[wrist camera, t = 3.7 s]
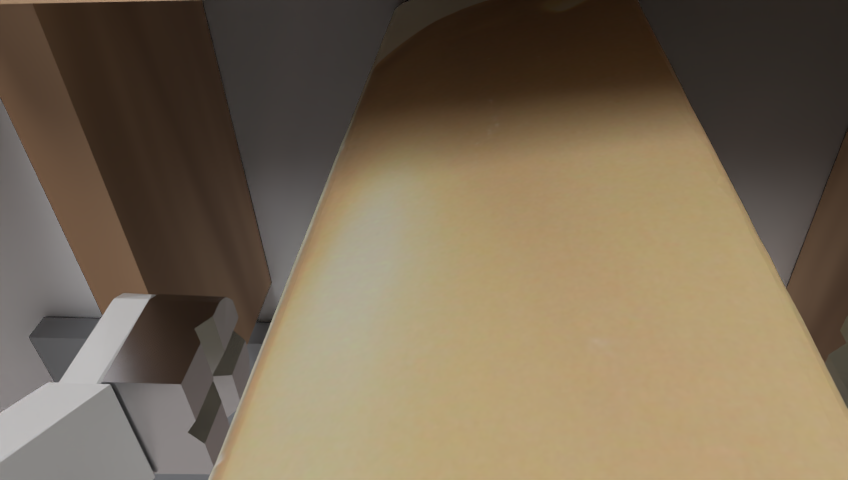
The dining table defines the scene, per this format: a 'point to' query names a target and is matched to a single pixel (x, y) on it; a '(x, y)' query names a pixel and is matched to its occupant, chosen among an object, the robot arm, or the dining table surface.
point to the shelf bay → (210, 159)
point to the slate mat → (68, 335)
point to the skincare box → (532, 277)
